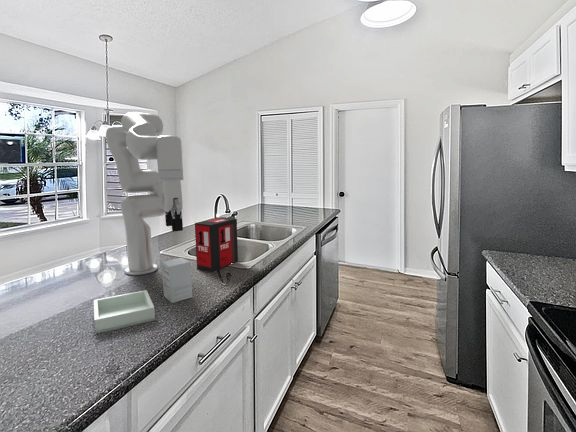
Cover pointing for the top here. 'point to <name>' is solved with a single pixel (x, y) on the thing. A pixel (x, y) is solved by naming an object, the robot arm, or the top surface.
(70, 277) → the top surface
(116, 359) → the top surface
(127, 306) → the tray
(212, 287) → the top surface
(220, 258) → the cleaning product box
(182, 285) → the supplement box
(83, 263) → the top surface
